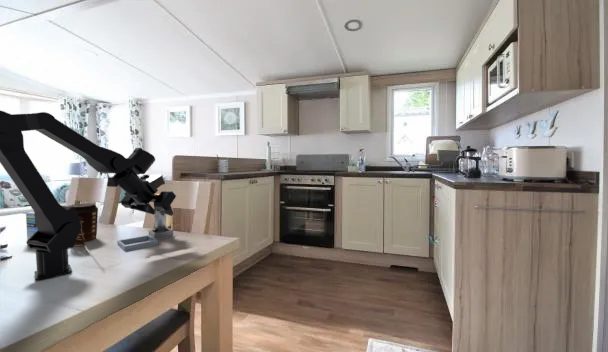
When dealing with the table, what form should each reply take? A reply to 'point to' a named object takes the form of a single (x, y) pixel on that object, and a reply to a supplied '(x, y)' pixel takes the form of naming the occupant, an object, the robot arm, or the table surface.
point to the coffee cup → (86, 222)
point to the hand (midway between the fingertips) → (163, 214)
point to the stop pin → (159, 221)
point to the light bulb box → (30, 224)
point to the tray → (136, 246)
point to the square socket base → (162, 234)
